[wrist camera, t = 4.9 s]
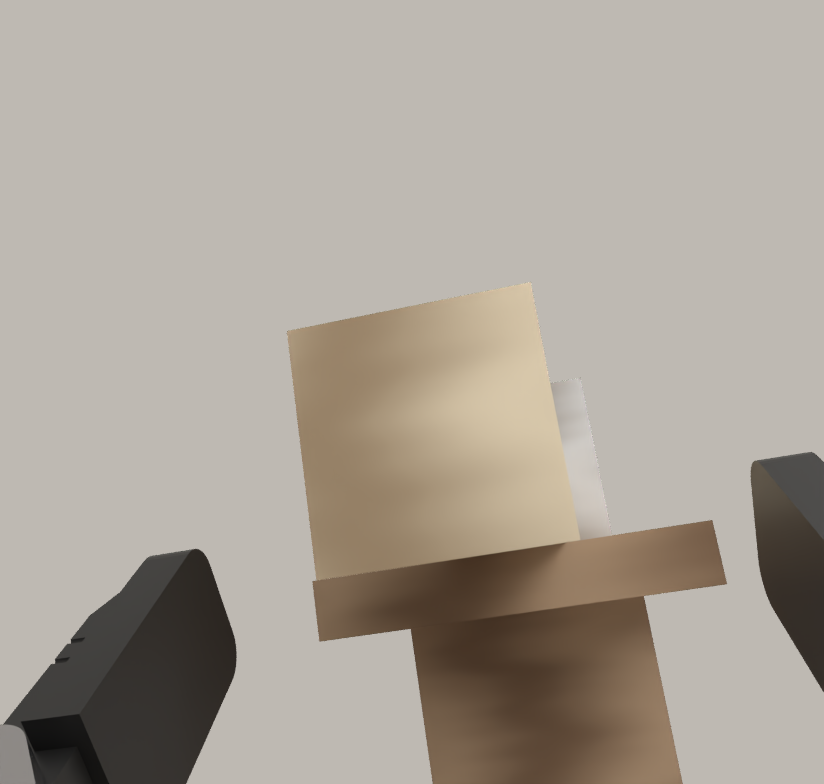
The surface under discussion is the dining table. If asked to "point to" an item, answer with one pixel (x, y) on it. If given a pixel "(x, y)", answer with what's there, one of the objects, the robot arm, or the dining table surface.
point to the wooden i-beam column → (536, 654)
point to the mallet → (440, 436)
